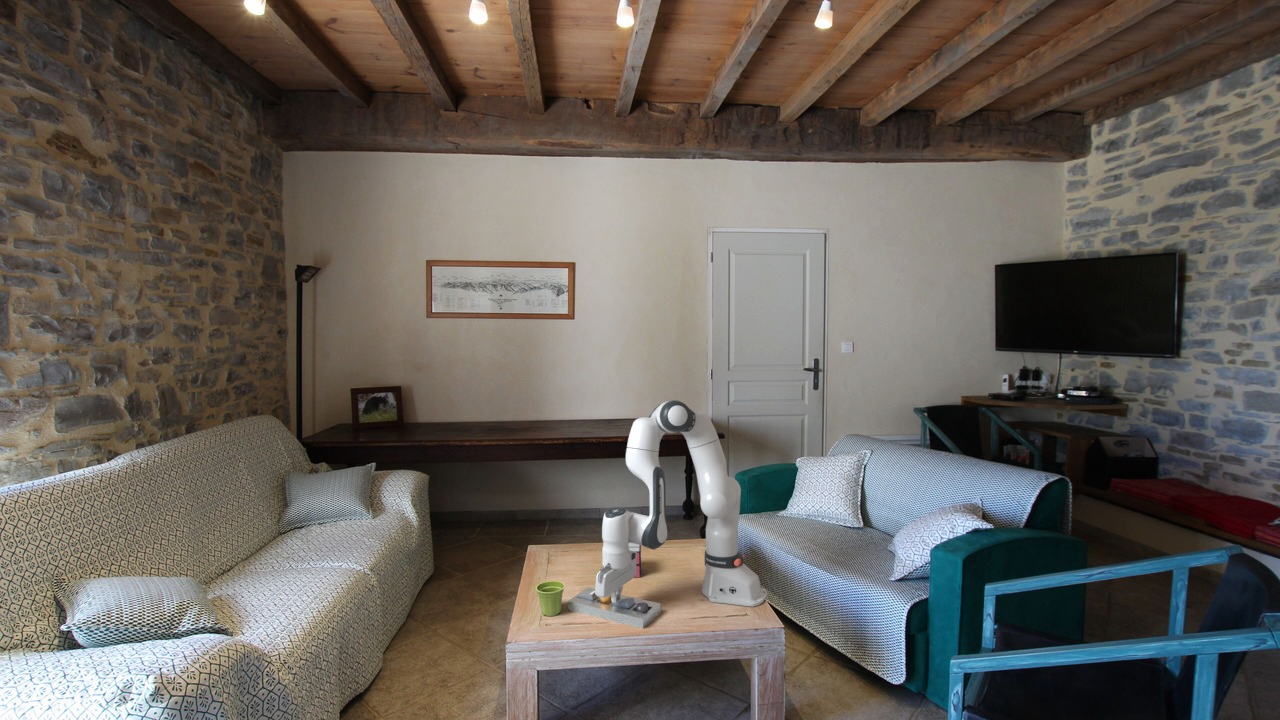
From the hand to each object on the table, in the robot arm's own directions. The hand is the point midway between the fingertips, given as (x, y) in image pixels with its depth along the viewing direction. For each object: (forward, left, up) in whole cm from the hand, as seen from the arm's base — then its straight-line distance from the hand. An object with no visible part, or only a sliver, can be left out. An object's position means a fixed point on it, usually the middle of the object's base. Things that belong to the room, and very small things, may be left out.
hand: (616, 600), depth 202 cm
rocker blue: (-3, 0, -1) cm, 3 cm away
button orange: (+4, 0, -1) cm, 4 cm away
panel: (+1, 0, -4) cm, 4 cm away
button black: (-10, 0, -3) cm, 10 cm away
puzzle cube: (+13, -30, -4) cm, 33 cm away
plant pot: (+19, +10, -4) cm, 22 cm away
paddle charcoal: (+11, 0, -1) cm, 11 cm away
